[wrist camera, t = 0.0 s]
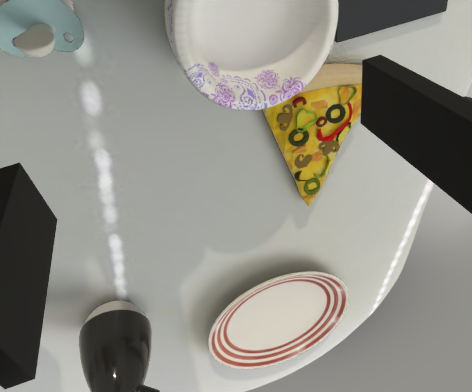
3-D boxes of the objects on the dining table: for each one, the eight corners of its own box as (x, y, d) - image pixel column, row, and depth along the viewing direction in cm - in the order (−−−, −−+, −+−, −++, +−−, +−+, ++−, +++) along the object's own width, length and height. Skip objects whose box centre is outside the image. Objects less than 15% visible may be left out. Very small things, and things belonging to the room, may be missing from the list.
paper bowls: (306, -91, 35) (349, -92, 29) (303, 70, 45) (335, 96, 39) (142, -71, 33) (152, -66, 27) (175, 96, 42) (188, 127, 36)
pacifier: (-20, -20, 32) (7, 54, 35) (-42, -11, 27) (-9, 74, 31) (72, -25, 33) (89, 46, 37) (66, -17, 29) (87, 64, 32)
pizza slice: (374, 54, 46) (388, 61, 44) (351, 191, 59) (361, 202, 56) (252, 72, 43) (260, 81, 41) (255, 212, 56) (262, 225, 53)
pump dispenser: (146, 330, 64) (156, 423, 53) (79, 335, 61) (74, 437, 49) (153, 288, 59) (166, 381, 47) (80, 292, 55) (75, 394, 44)
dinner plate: (368, 281, 75) (378, 294, 72) (281, 363, 84) (287, 377, 81) (266, 240, 60) (274, 255, 57) (175, 345, 69) (178, 362, 67)
